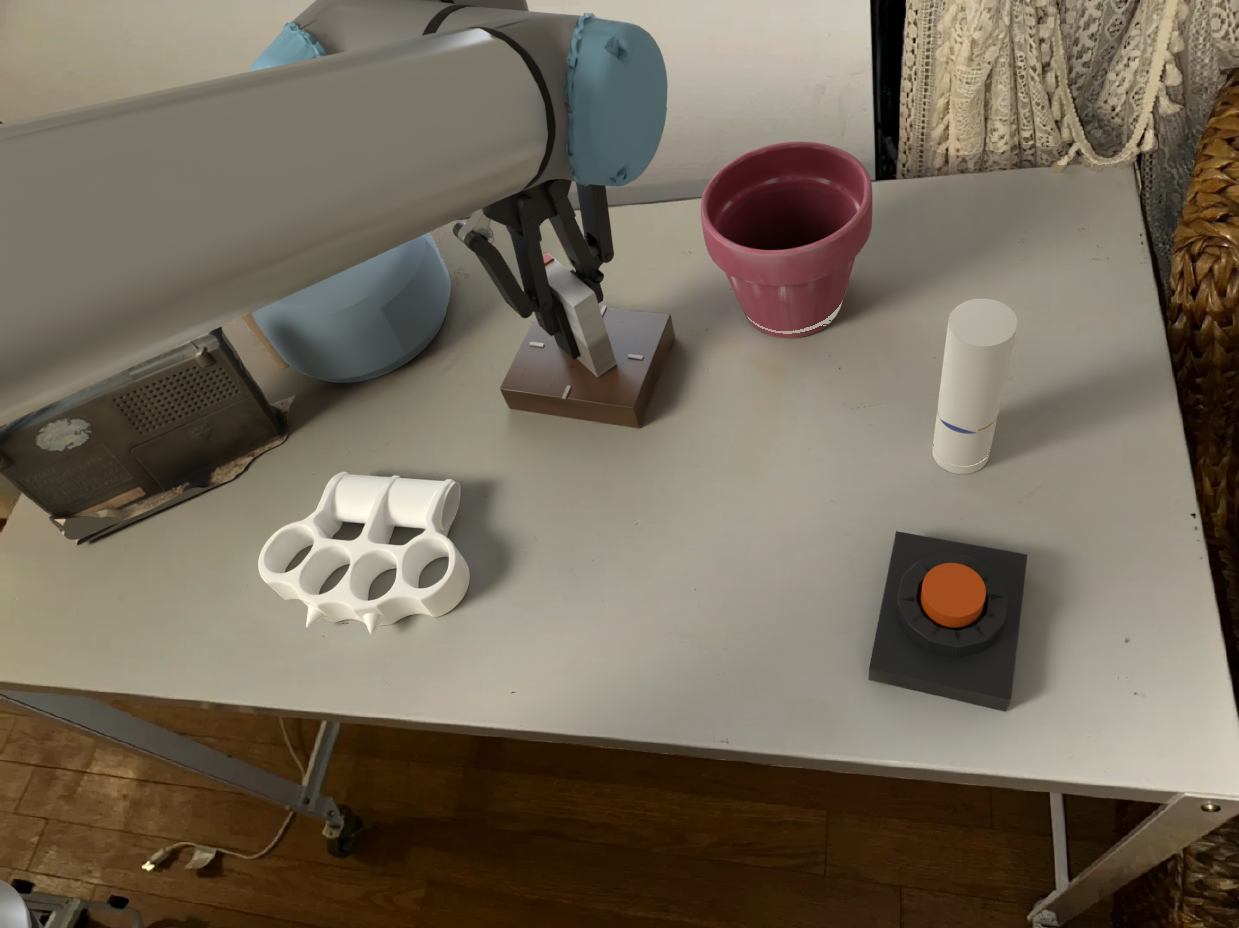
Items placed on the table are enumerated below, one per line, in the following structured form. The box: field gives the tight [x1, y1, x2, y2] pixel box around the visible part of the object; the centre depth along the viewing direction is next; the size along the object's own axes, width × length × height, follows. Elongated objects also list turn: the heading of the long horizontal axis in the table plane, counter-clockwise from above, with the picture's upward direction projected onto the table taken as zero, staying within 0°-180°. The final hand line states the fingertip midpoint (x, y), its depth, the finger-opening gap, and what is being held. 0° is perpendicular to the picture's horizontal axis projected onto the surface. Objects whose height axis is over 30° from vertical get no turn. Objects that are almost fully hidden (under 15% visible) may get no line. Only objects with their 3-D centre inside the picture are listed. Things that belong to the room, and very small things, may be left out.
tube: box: [931, 298, 1018, 475], centre depth 67 cm, size 4×4×15 cm
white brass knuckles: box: [257, 471, 471, 637], centre depth 77 cm, size 3×18×15 cm
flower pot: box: [699, 141, 873, 339], centre depth 80 cm, size 14×14×13 cm
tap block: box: [499, 304, 676, 429], centre depth 84 cm, size 11×13×3 cm
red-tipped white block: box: [542, 252, 617, 377], centre depth 80 cm, size 7×2×9 cm, turn 37°
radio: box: [0, 326, 296, 546], centre depth 83 cm, size 23×9×15 cm, turn 110°
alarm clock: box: [241, 232, 452, 384], centre depth 91 cm, size 19×20×12 cm
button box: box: [867, 530, 1028, 713], centre depth 64 cm, size 11×9×4 cm
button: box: [921, 563, 986, 628], centre depth 62 cm, size 4×4×2 cm
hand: (581, 340), depth 82 cm, fingers closed on red-tipped white block, 2 cm apart
